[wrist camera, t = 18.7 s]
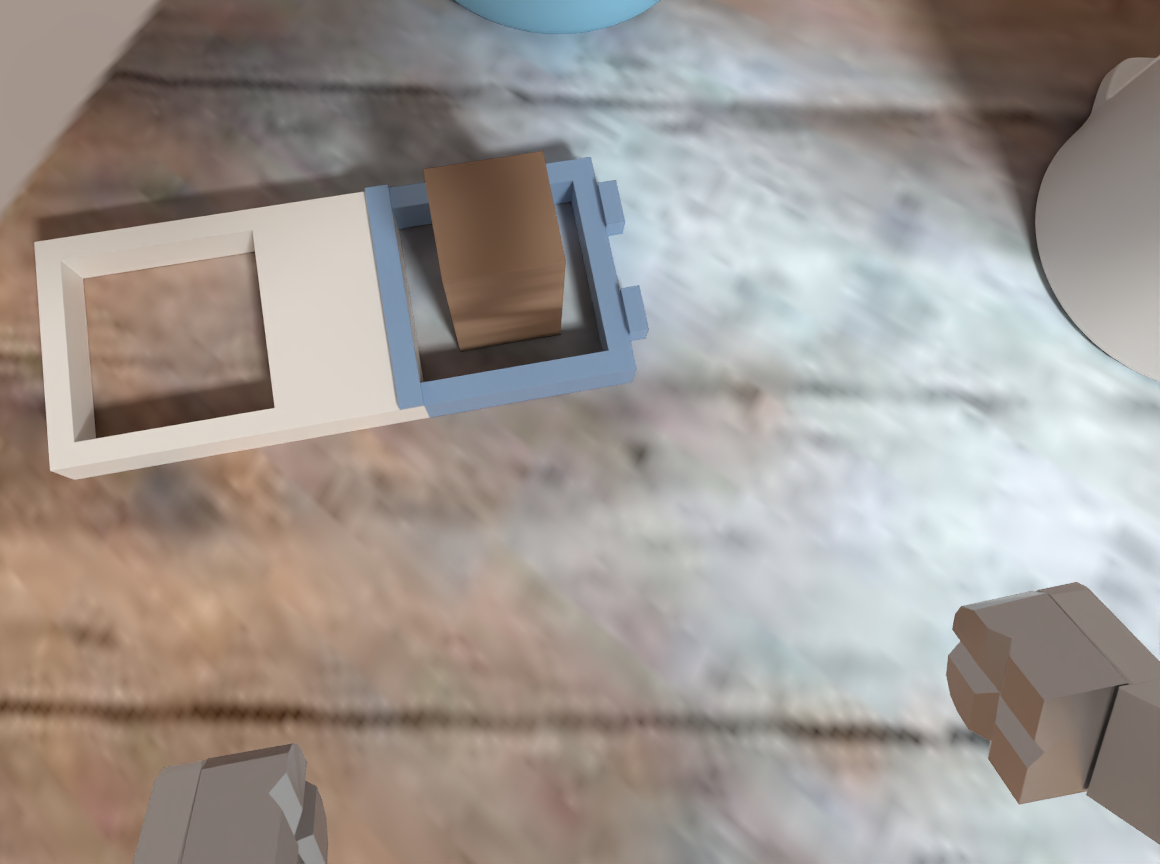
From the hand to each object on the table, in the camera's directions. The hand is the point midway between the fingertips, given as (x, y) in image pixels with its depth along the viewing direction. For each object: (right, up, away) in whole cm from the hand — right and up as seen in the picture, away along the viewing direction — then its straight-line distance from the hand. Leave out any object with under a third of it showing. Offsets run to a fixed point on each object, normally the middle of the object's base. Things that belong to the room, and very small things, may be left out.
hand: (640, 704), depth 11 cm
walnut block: (-4, +9, +30) cm, 32 cm away
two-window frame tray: (-11, +8, +30) cm, 33 cm away
